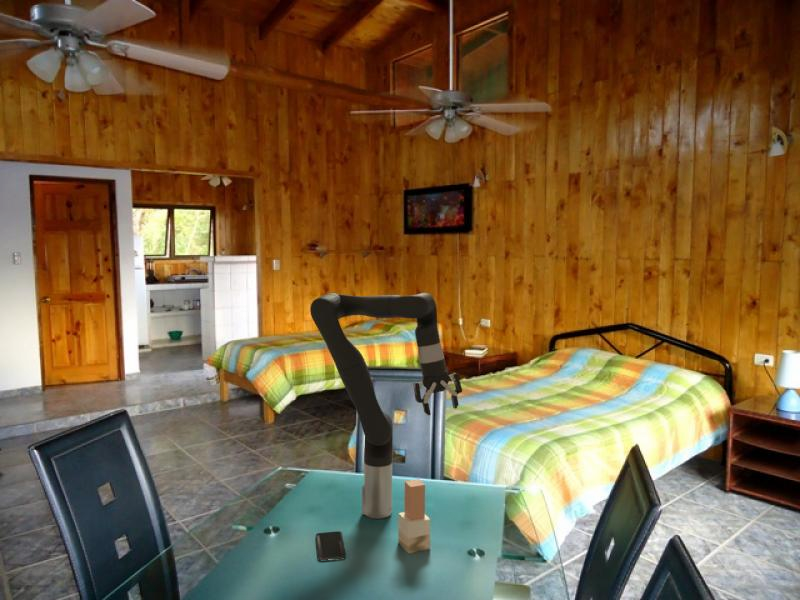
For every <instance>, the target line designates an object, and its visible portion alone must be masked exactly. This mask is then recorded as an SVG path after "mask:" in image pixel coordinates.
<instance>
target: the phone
mask: <svg viewBox="0 0 800 600" xmlns="http://www.w3.org/2000/svg"><path fill="white" fill-rule="evenodd" d="M343 537H344V536H343V533H342V531H337V530H336V531H328V532H317V533H316V534H315V540H316V553H318V554H317V560H318V559H319V560H328V559H342V558H345V557H346V556H347V553H346V548H345V543H344V538H343ZM346 558H347V557H346ZM346 558H345V559H346ZM319 560H318V561H319ZM342 560H343V559H342Z"/></svg>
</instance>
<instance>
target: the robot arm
mask: <svg viewBox="0 0 800 600" xmlns="http://www.w3.org/2000/svg"><path fill="white" fill-rule="evenodd" d="M437 307H438V306H437V303H436V300H435V299H434V297H433V296H432V295H431V294H429V293H427V292H421V293H418V294H411V295H399V294H386V295H384V294H382V295H367V296H366V295H365V296H361V295H360V296H359V295H349V294H343V293H342V294H341V293H333V292H332V293H331V292H329V293H325V294H324V295H322V296H319V297H317V298H315V299H314V300H312V302H311V304H310V308H309V312H310V316H311V318H312V320H313V323H314V324H315V326H316V328H317V331H318V332H319V333H320V335H321V337H322V339H323V341H324V342H325V345H326V348H327V349H328V351H329V354H330V355H331V358H332V360H333V362H334V364H335V368H336V370H337V372H338V376H339V377H340V379H341V381H342V384H343V386H344V388H345V390H346V393H347V394H348V397H349V398H350V401H351V402H352V403H353V406H354V408H355V410H356V413H357V415H358V418H359V421H360V424H361V425H360V426H361V428H362V432H363V434H364V435H363V436H364V453H363V455H364V456H363V458H364V459H363V464H364V465H363V476H364V477H363V484H362V486H361V515H364V516H366V517H368V518H370V519H378V520H379V519H385V518H388V517H390V516H392V514H393V451H394V450H393V443H394V442H393V435H394V433H393V432H394V431H393V429H394V427H393V425H394V424H393V420H392V419H391V417H390V415H389V414H387V413H386V412H384V411H383V410H382V408H381V405H380V404H379V402H378V401H379V400H378V399H377V396H376V395H377V394H376V391H375V387H374V382H373V379H372V376H371V373H370V370H369V367H368V365H367V363H366V360H365V358H364V356H363V355H362V353H361V351H360V350H359V349H358V348H357V347H356V346H355V344H354V343H352V342H351V341H350V340H349V338H348V337H347V336H346V334H345V333H344V331H343V328H342V325H341V324H340V321H339V320H340V319H342V318H346V317H351V316H364V317H365V316H366V317H369V318H373V319H374V318H375V319H376V318H377V319H396V318H401V319H402V318H403V319H412V320H413V319H414V320H415V319H416V327H415V330H414V336H415V341H416V345H417V355H418V361H419V366H420V371H421V376H422V381H418V382H417V381H414V382H413V391H414V399H415V401H416V402H417V403H419V404H420V403H421V404H422V407H423V412H424V413H425V414H426V415H427V416H431V410H430V404H429V399H430V398H431V396H432V394H437V393H439V392H445V391H447V392H448V393H449V394H450V395H451V396H450V398H451V404H452V407H453V408H452V409H455V410H456V409H458V406H459V400H458V395H459V394H461V393H462V392H463V388H462V384H461V380H460V376H459V374H458V373H457V372H452V373H451V374H449V373H448V370H447V365H446V360H445V355H444V350H443V347H442V342H441V339H440V334H439V329H438V309H437ZM450 380H451V381H452V382H453V383H454V388H455V389H453V388H452V387H451V386H450V385H449V382H450ZM422 387H424V388H425V390H424V393H423V395H421V390H422V389H423V388H422Z"/></svg>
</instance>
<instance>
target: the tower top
mask: <svg viewBox="0 0 800 600" xmlns="http://www.w3.org/2000/svg"><path fill="white" fill-rule="evenodd" d="M398 528H399V529H400V530H401V531H402V532H403V533H404V535H405V536H406V537H407V538H413V537H418V536H423V535H428V534H430V535H431V519H430V517H429V516H428V515H427V514H426V513H425V518H423V519H418V520H412V521H410V520H409V519H408V517H407V516H406V515H405V511H403V512H399V513H398Z"/></svg>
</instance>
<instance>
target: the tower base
mask: <svg viewBox="0 0 800 600" xmlns="http://www.w3.org/2000/svg"><path fill="white" fill-rule="evenodd" d="M397 533H398V534H397V535H398V536H397V537H398V538H397V539H398V540H397V541H398V544H400V546H401V547H402V548H403V549H404V550H405V552H406V551H407V552H408V553H409V554H413V553H417V551H418V552H420V551H421V552H422V551H427V550H430V549H431V533H430V534H428V535H423V536H418V537H413V538H407V537H406V536H405V535H404V533H403V532H402V531H401V530H400V529H399V527H398V532H397ZM407 552H406V553H407ZM408 553H407V554H408Z"/></svg>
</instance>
